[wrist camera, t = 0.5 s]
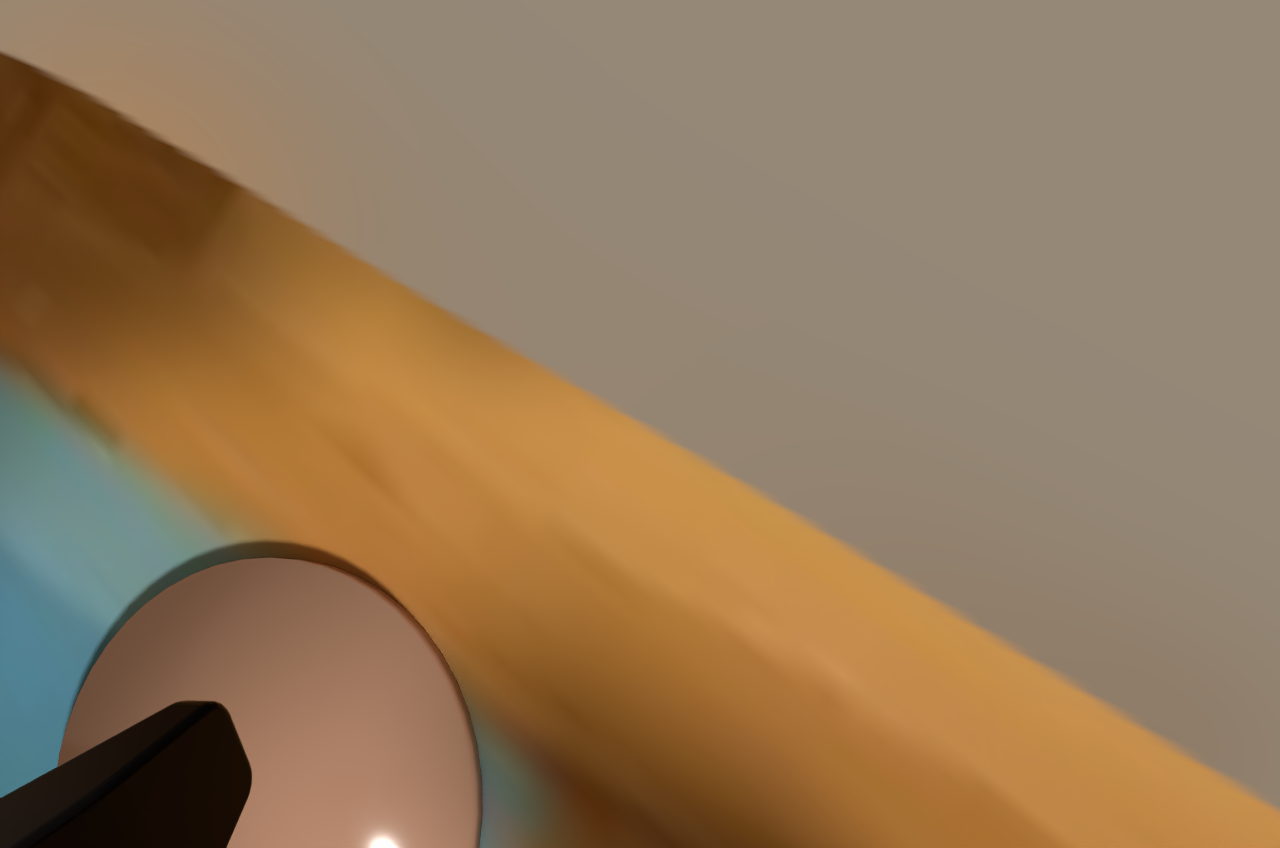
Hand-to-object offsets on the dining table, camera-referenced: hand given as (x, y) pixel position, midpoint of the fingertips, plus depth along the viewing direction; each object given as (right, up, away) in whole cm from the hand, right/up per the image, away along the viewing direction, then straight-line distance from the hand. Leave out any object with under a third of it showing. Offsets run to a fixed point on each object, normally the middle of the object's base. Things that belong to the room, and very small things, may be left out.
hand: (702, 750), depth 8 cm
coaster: (-10, -7, +17) cm, 21 cm away
